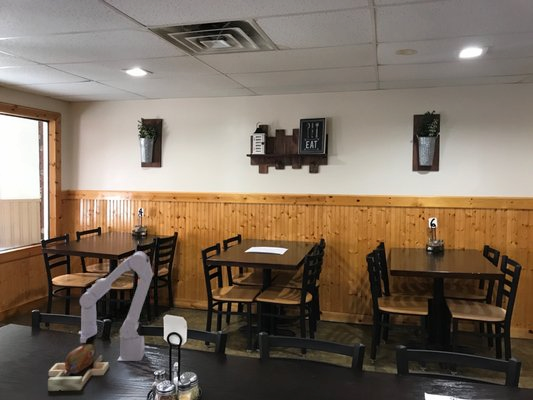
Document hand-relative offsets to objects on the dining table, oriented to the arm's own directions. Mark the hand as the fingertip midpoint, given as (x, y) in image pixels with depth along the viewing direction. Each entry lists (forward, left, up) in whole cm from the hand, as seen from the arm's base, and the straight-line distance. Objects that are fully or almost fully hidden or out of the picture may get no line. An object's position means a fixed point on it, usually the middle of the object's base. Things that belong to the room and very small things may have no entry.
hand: (89, 353), depth 178 cm
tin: (+1, +9, -3) cm, 9 cm away
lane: (0, +13, -2) cm, 13 cm away
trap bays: (0, +11, -2) cm, 12 cm away
